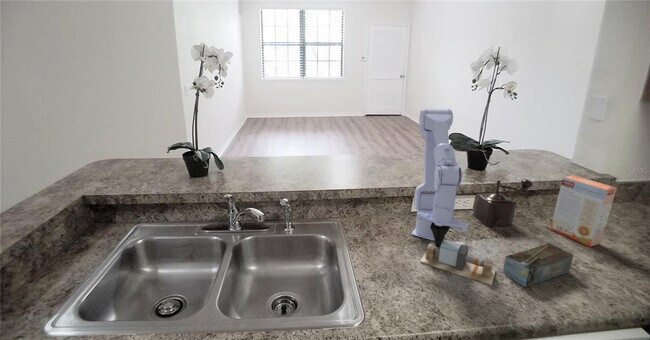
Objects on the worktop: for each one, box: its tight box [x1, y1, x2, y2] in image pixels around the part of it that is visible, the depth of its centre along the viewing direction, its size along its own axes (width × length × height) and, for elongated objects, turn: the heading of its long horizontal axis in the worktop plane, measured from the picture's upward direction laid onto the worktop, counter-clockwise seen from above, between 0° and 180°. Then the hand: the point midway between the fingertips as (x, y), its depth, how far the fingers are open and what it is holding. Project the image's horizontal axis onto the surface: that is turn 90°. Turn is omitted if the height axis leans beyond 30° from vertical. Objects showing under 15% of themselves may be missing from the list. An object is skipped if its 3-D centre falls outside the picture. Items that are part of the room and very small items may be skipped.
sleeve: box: [439, 239, 462, 267], centre depth 100 cm, size 5×5×6 cm
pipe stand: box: [419, 241, 496, 286], centre depth 100 cm, size 20×8×4 cm, turn 58°
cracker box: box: [550, 175, 617, 247], centre depth 116 cm, size 14×6×21 cm, turn 22°
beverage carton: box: [502, 243, 574, 288], centre depth 97 cm, size 8×19×7 cm, turn 113°
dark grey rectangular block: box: [455, 244, 470, 271], centre depth 99 cm, size 2×5×5 cm, turn 148°
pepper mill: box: [472, 178, 534, 228], centre depth 128 cm, size 16×11×18 cm
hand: (438, 245), depth 102 cm, fingers closed
